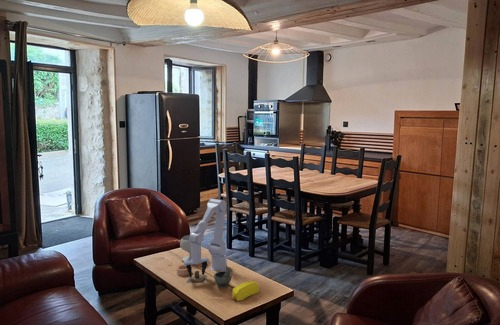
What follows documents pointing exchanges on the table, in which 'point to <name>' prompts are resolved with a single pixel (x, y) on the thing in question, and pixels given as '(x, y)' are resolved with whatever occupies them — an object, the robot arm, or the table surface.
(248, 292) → the yellow rounded block
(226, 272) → the mortar and pestle
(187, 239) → the chalice
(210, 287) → the table surface
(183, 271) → the bowl
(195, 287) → the table surface
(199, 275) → the lid
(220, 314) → the table surface
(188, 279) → the mat
